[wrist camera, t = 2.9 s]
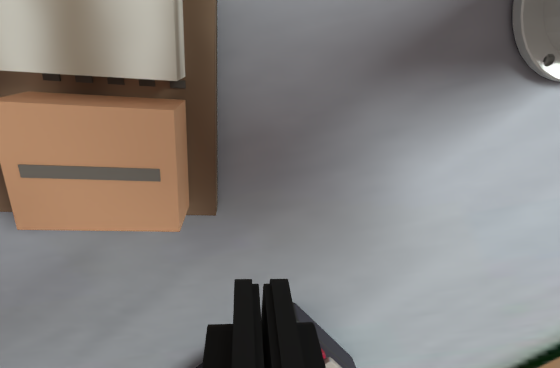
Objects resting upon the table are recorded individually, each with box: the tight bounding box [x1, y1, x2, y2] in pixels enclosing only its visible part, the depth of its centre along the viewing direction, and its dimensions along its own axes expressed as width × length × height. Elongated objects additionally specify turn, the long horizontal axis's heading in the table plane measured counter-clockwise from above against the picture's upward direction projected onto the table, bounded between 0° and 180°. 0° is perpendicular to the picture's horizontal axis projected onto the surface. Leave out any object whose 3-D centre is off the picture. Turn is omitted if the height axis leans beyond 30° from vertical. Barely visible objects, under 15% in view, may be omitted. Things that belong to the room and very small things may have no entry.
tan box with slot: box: [0, 91, 189, 232], centre depth 22 cm, size 10×8×4 cm
